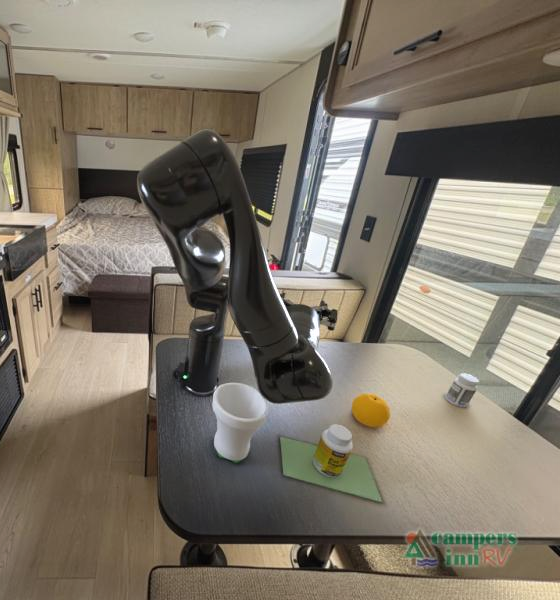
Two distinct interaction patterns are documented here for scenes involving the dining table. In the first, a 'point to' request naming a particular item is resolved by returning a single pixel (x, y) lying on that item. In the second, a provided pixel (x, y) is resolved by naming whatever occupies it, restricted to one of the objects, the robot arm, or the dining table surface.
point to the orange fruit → (370, 410)
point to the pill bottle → (462, 390)
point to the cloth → (301, 467)
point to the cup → (237, 418)
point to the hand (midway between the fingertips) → (301, 300)
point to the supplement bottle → (333, 450)
